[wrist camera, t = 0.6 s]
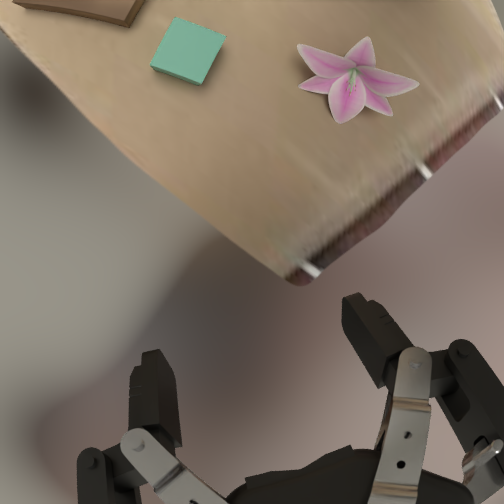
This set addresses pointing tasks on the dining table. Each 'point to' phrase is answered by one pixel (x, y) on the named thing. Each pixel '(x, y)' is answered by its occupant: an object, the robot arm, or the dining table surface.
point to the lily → (352, 80)
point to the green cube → (187, 51)
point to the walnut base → (90, 9)
